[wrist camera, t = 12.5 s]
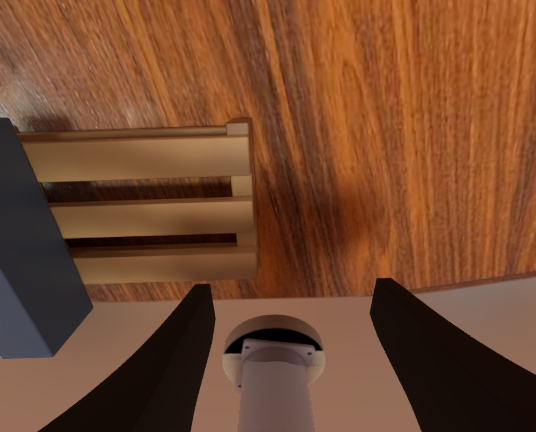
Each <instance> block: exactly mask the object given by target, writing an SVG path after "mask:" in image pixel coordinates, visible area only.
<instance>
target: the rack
mask: <svg viewBox="0 0 536 432" xmlns="http://www.w3.org/2000/svg"><path fill="white" fill-rule="evenodd" d="M225 125H226V126H210V127H180V128H149V129H119V130H88V131H58V132H27V133H18V131H17V129H16V127H15V126H13V128H14V130H15V132H16V134H17V137H18V139H19V141H20V143H21V145H22V148H23V150H24V152H25V154H26V157H27V159H28V161H29V163H30V166H31V168H32V170H33V172H34V175H35V177H36V179H37V181H38V184H39V186H40V188H41V190H42V193H43V195H44V197H45V199H46V202H47V204H48V206H49V208H50V211H51V213H52V215H53V217H54V220H55V222H56V224H57V226H58V229H59V231H60V233H61V235H62V238H63V240H64V242H65V244H66V247H67V249H68V251H69V253H70V256H71V258H72V260H73V262H74V264H75V267H76V269H77V271H78V273H79V276H80V278H81V280H82V282H83V284H105V283H137V282H168V281H200V280H231V279H257V277H258V260H259V246H258V228H257V209H256V191H255V173H254V154H253V136H252V119H251V118H234V119H232V120H230V121H229V122H227V123H226V124H225ZM224 176H231V186H232V197H214V198H183V199H152V200H121V201H90V202H60V203H49V201H48V199H47V197H46V194H45V192H44V190H43V188H42V185H41V183H40V182H70V181H101V180H132V179H162V178H193V177H224ZM218 233H236V238H237V242H229V243H197V244H166V245H135V246H104V247H73V248H69V246H68V244H67V242H66V240H65V238H94V237H125V236H156V235H187V234H218Z"/></svg>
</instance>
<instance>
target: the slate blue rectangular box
mask: <svg viewBox="0 0 536 432" xmlns="http://www.w3.org/2000/svg"><path fill="white" fill-rule="evenodd" d="M92 309H93V305H92V303H91V300H90V298H89V296H88V294H87V291H86V289H85V287H84V285H83V282H82V280H81V278H80V276H79V273H78V271H77V269H76V267H75V264H74V262H73V260H72V258H71V256H70V253H69V251H68V249H67V247H66V244H65V242H64V240H63V238H62V235H61V233H60V231H59V229H58V226H57V224H56V222H55V220H54V217H53V215H52V213H51V211H50V208H49V206H48V204H47V202H46V199H45V197H44V195H43V193H42V190H41V188H40V186H39V184H38V181H37V179H36V177H35V175H34V172H33V170H32V168H31V166H30V163H29V161H28V159H27V157H26V154H25V152H24V150H23V148H22V145H21V143H20V141H19V139H18V137H17V134H16V132H15V130H14V128H13V125H12V123H11V121H10V119H9V118H0V356H1V357H2V358H3V359H12V358H45V357H53V356H54V355H55V354H56V353H57V352H58V351H59V349H60V348H61V347H62V345H63V344H64V343H65V342H66V341H67V340H68V338H69V337H70V336H71V335H72V333H73V332H74V331H75V330H76V329H77V327H78V326H79V325H80V324H81V323H82V321H83V320H84V319H85V318H86V316H87V315H88V314H89V313H90V312H91V310H92Z"/></svg>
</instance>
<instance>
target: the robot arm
mask: <svg viewBox="0 0 536 432" xmlns="http://www.w3.org/2000/svg"><path fill="white" fill-rule="evenodd" d="M370 316H371V319H372V322H373V325H374V328H375V330H376V333H377V336H378V338H379V340H380V342H381V344H382V346H383V348H384V351H385V353H386V355H387V357H388V359H389V361H390V363H391V365H392V367H393V369H394V371H395V373H396V375H397V377H398V379H399V381H400V383H401V385H402V387H403V389H404V391H405V393H406V395H407V397H408V400H409V402H410V404H411V406H412V409H413V411H414V414H415V416H416V419H417V421H418V424H419V426H420V429H421V431H422V432H536V375H535V374H533V373H531V372H530V371H528V370H526V369H524V368H522V367H521V366H519V365H517V364H515V363H514V362H512V361H510V360H508V359H507V358H505V357H503V356H502V355H500V354H498V353H496V352H495V351H493V350H492V349H490V348H488V347H487V346H485V345H484V344H482V343H480V342H479V341H477V340H476V339H474V338H473V337H471V336H470V335H468V334H467V333H465V332H464V331H462V330H461V329H459V328H458V327H456V326H455V325H453V324H452V323H451V322H449V321H448V320H446V319H445V318H443V317H442V316H441V315H439V314H438V313H437V312H435V311H434V310H433V309H431V308H430V307H429V306H427V305H426V304H424V303H423V302H422V301H421V300H419V299H418V298H417V297H415V296H414V295H413V294H412V293H410V292H409V291H408V290H406V289H405V288H404V287H402V286H401V285H400V284H398V283H397V282H396V281H394V280H393V279H392V278H377V279H376V284H375V289H374V294H373V299H372V304H371V309H370ZM215 319H216V318H215V312H214V306H213V300H212V294H211V288H210V284H196V285H194V286H193V288H192V289H191V290H190V291H189V293H188V294H187V295H186V296H185V298H184V299H183V300H182V301H181V303H180V304H179V305H178V306H177V308H176V309H175V310H174V311H173V312H172V313H171V315H170V316H169V317H168V318H167V319H166V320H165V321H164V323H163V324H162V325H161V326H160V327H159V328H158V329H157V330H156V331H155V332H154V333H153V334H152V336H151V337H150V338H149V339H148V340H147V341H146V342H145V343H144V344H143V345H142V346H141V347H140V348H139V349H138V350H137V351H136V352H135V353H134V354H133V355H132V356H131V357H130V358H129V359H128V360H127V361H126V362H125V363H123V364H122V365H121V366H120V367H119V368H118V369H117V370H116V371H114V372H113V373H112V374H111V375H110V376H109V377H108V378H106V379H105V380H104V381H103V382H101V383H100V384H99V385H98V386H97V387H95V388H94V389H93V390H92V391H91V392H89V393H88V394H87V395H86V396H85V397H83V398H82V399H81V400H79V401H78V402H77V403H76V404H74V405H73V406H72V407H70V408H69V409H68V410H67V411H65V412H64V413H62V414H61V415H60V416H58V417H57V418H56V419H54V420H53V421H52V422H50V423H49V424H48V425H46V426H45V427H43V428H42V429H40V430H39V431H38V432H190V431H191V426H192V421H193V415H194V410H195V406H196V401H197V398H198V394H199V390H200V386H201V382H202V379H203V375H204V371H205V367H206V363H207V359H208V356H209V352H210V348H211V344H212V339H213V333H214V326H215ZM314 352H315V348H314V346H313V345H307V344H297V343H288V342H278V341H268V340H258V339H245V340H244V342H243V347H242V353H241V359H240V364H239V370H238V376H237V381H236V388H235V391H236V392H237V393H241V400H240V412H239V424H238V432H315V428H314V421H313V414H312V408H311V401H310V395H309V388H308V381H307V375H306V374H307V371H308V368H309V365H310V363H311V360H312V357H313V355H314Z"/></svg>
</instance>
